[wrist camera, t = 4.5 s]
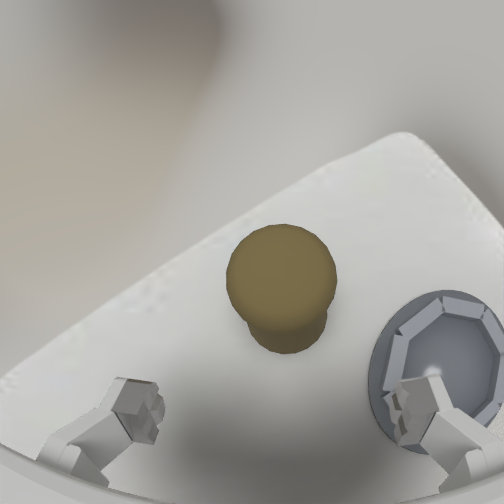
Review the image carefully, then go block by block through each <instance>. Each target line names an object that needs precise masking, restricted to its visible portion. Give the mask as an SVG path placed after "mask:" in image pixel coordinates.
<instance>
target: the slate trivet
mask: <svg viewBox="0 0 504 504" xmlns="http://www.w3.org/2000/svg"><path fill="white" fill-rule="evenodd" d="M435 374H438V375H440V377H441V379H442V381H443V384H444V386H445V388H446V391H447V393H448V395H449V398H450V400H451V403H452V405H453V407H454V408H459V409H460V410H461V411H463V412H464V413H466V414H467V415H468V416H470V417H471V418H473V419H474V420H476V421H477V422H478V423H480V424H481V425H483V426H484V427H485V428H487V427H488V426H489V424H490V423H491V422H492V420H493V419H494V418H495V416H496V414H497V413H498V411H499V410H500V407H501V405H502V403H503V402H504V329H503V327H502V324H501V323H500V321H499V319H498V318H497V316H496V315H495V314H494V312H493V311H492V310H491V309H490V308H489V307H488V306H487V305H486V304H485V303H484V302H482V301H481V300H479V299H478V298H476V297H474V296H472V295H470V294H467V293H464V292H461V291H454V290H441V291H434V292H431V293H428V294H425V295H422V296H420V297H418V298H416V299H415V300H413V301H412V302H410V303H409V304H407V305H406V306H404V307H403V308H402V309H401V310H400V311H398V312H397V313H396V314H395V316H394V317H393V318H392V319H391V320H390V321H389V323H388V324H387V325H386V327H385V328H384V330H383V331H382V333H381V335H380V337H379V339H378V341H377V343H376V346H375V348H374V351H373V354H372V358H371V362H370V368H369V378H368V387H369V397H370V402H371V406H372V409H373V412H374V415H375V417H376V419H377V421H378V423H379V425H380V426H381V428H382V429H383V430H384V432H385V433H386V434H387V435H388V436H389V437H390V438H391V439H392V440H393V441H395V442H396V439H395V435H394V429H395V427H396V425H395V424H394V423H393V422H392V421H391V417H390V410H389V409H390V400H391V397H392V395H393V394H395V393H396V392H395V388H394V387H395V384H396V382H397V381H398V380H401V379H408V378H415V377H421V376H429V375H435ZM402 447H404V448H406V449H408V450H410V451H413V452H416V453H420V454H428V455H430V454H429V453H428V452H427V451H426V450H425V449H424V448H423V447H422V446H421V445H420V443H417V444H411V445H404V446H402Z"/></svg>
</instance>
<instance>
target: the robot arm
mask: <svg viewBox="0 0 504 504" xmlns="http://www.w3.org/2000/svg"><path fill="white" fill-rule="evenodd" d="M394 388H395V392H396V393H395V394H393V395H392V397H391V400H390V409H389V410H390V417H391V421H392V422H393V423H394V424H395V425H396V427H395V429H394V435H395V439H396V444H397V446H404V445H411V444H417V443H420V445H421V446H422V447H423V448H424V449H425V450H426V451H427V452H428V453H429V454H430V455H431V456H432V458H433V459H434V460H435V461H436V462H437V463H438V464H439V465H440V466H441V467H442V468H443V469H444V470H445V471H446V472H447V473H448V474H449V476H448V477H447V478H446V479H445V480H444V482H443V483H442V484H441V485H440V487H439V491H440V493H439V494H436V495H432V496H428V497H424V498H420V499H415V500H411V501H406V502H401V503H396V504H504V442H503V440H502V439H501V438H500V437H498V436H497V435H495V434H494V433H492V432H491V431H490V430H488V429H487V428H485V427H484V426H483V425H481V424H480V423H478V422H477V421H476V420H474V419H473V418H471V417H470V416H468V415H467V414H466V413H464V412H463V411H461V410H460V409H459V408H454V407H453V405H452V403H451V400H450V398H449V395H448V393H447V391H446V388H445V386H444V384H443V381H442V379H441V377H440V375H438V374H435V375H429V376H421V377H415V378H408V379H401V380H398V381H397V382H396V384H395V387H394ZM158 390H159V388H158V386H157V384H156V383H155V382H149V381H142V380H135V379H128V378H122V377H117V378H115V379H114V380H113V382H112V384H111V386H110V388H109V389H108V391H107V393H106V395H105V397H104V399H103V400H102V402H101V404H100V406H99V408H94V409H92V410H91V411H89V412H88V413H86V414H84V415H83V416H81V417H79V418H78V419H76V420H75V421H73V422H71V423H70V424H68V425H66V426H65V427H63V428H62V429H60V430H58V431H57V432H55V433H53V434H52V435H50V436H49V437H48V439H47V441H46V443H45V444H44V446H43V448H42V450H41V452H40V453H39V455H38V457H37V459H36V460H33V459H31V458H29V457H27V456H25V455H23V454H21V453H19V452H17V451H15V450H13V449H11V448H9V447H7V446H5V445H3V444H1V443H0V504H174V503H168V502H163V501H158V500H154V499H149V498H145V497H141V496H137V495H133V494H129V493H125V492H121V491H118V490H114V489H111V488H107V487H108V484H109V481H108V479H107V478H106V477H105V476H104V475H103V474H102V472H101V470H102V469H103V468H104V467H106V466H107V465H108V464H109V463H110V462H111V461H112V460H114V459H115V458H116V457H117V456H118V455H119V454H121V453H122V452H123V451H124V450H125V449H126V448H127V447H129V446H130V445H131V444H132V443H133V442H139V443H145V444H151V445H154V443H155V440H156V437H157V434H158V432H159V430H158V428H157V425H158V424H159V423H160V422H162V420H163V417H164V413H165V404H164V400H163V398H162V397H161V396H160V395H159V394H158ZM132 441H133V442H132Z"/></svg>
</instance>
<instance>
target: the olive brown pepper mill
mask: <svg viewBox="0 0 504 504" xmlns="http://www.w3.org/2000/svg"><path fill="white" fill-rule="evenodd" d="M336 285H337V274H336V266H335V263H334V261H333V258H332V256H331V254H330V252H329V250H328V248H327V246H326V245H325V244H324V243H323V242H322V241H321V240H320V239H319V238H318V237H317V236H316V235H315V234H313V233H311V232H309V231H307V230H306V229H304V228H302V227H298V226H293V225H288V224H278V225H268V226H266V227H263V228H261V229H258V230H256V231H253V232H252V233H251V234H250V235H248V236H247V237H246V238H244V239H243V240H242V241H241V242H240V243H239V245H238V246H237V247H236V249H235V250H234V252H233V253H232V255H231V258H230V261H229V264H228V267H227V271H226V289H227V293H228V295H229V298H230V301H231V304H232V306H233V307H234V309H235V310H236V311H237V312H238V314H239V315H240V316H241V317H242V319H243V320H244V321H246V322H247V324H248V327H249V330H250V332H251V335H252V336H253V337H254V338H255V340H256V341H257V342H258V343H259V344H260V345H261V346H263V347H265V348H266V349H268V350H269V351H272V352H276V353H280V354H292V353H297V352H300V351H302V350H305V349H307V348H309V347H310V346H311V345H312V344H313V343H315V342H316V341H317V340H318V339H319V337H320V335H321V334H322V332H323V330H324V328H325V324H326V320H327V309H328V307H329V305H330V304H331V302H332V300H333V299H334V295H335V290H336Z"/></svg>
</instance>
